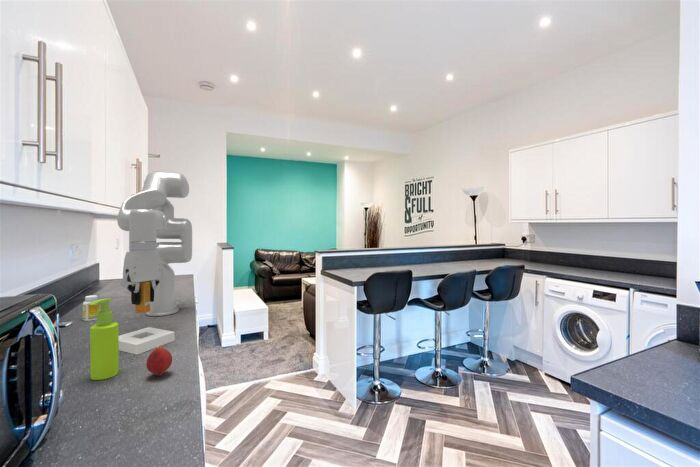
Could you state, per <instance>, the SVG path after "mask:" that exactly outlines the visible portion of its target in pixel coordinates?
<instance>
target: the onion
mask: <svg viewBox="0 0 700 467" xmlns="http://www.w3.org/2000/svg"><path fill="white" fill-rule="evenodd" d="M172 363H173V356H172V353H171V352H170V351H169V350H168V349H166V348H164V345H159V346H158V347H156V348H154V349H153V351H151V352H150V354H149V355H148V356H147V359H146V366H145V367H146V369H147V370H148V371H149V373H151V374H153V375H156V376H159V377H160V376H161V375H163V374H164V373H165V372H166V371H168V369H169V368H170V367H171V365H172Z"/></svg>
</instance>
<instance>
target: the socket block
mask: <svg viewBox="0 0 700 467" xmlns="http://www.w3.org/2000/svg"><path fill="white" fill-rule="evenodd" d="M175 334H176V332H175V331H171V330H167V329H161V328H156V327H150V326H147V327H144V328H141V329H138V330H134V331H131V332H127V333H124V334H121V335H119V352H124V353H129V354H132V355H140V354H143V353H144V352H148V351H150V350H155V349H156V348H157V347H158V346H159V345H163V346H164V345H167V344H169V343H172V342H175V341H176V338H175V337H176V335H175Z"/></svg>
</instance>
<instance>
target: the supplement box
mask: <svg viewBox="0 0 700 467" xmlns="http://www.w3.org/2000/svg"><path fill="white" fill-rule="evenodd" d="M138 292H140V305H135V304H134V305H135V306H134V308H135V309H134V313H135V314H146V313H147V312H149V311H150V282H140V285H139V291H138Z"/></svg>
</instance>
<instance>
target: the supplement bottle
mask: <svg viewBox="0 0 700 467" xmlns="http://www.w3.org/2000/svg"><path fill="white" fill-rule="evenodd" d="M95 300H98V295H95V294H92V295H86V296H85V297H84V302H83V303H82V321H84V322H90V321H96V313H97V312H99V311H100V304H98V305H96V306H89V305H87V304H88V303H90V302H92V301H95Z"/></svg>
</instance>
